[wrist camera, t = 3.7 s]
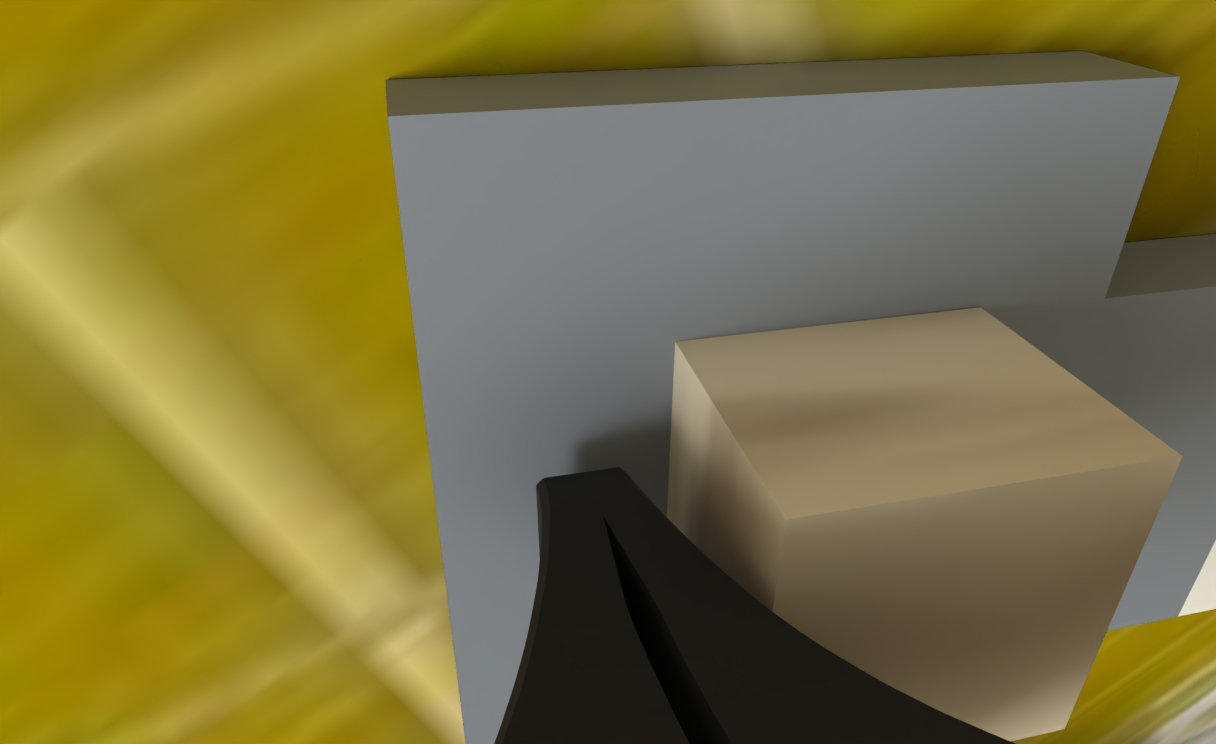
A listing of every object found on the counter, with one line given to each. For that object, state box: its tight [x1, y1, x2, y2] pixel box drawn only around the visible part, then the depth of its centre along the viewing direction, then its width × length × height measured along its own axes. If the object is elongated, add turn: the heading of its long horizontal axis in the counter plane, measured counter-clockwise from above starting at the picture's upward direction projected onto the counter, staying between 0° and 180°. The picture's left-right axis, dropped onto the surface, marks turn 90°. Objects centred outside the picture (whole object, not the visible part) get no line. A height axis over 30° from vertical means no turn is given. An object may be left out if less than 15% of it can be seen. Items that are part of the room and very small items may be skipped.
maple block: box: [667, 307, 1183, 741], centre depth 12 cm, size 5×5×4 cm
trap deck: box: [386, 51, 1216, 744], centre depth 15 cm, size 12×23×4 cm, turn 89°
